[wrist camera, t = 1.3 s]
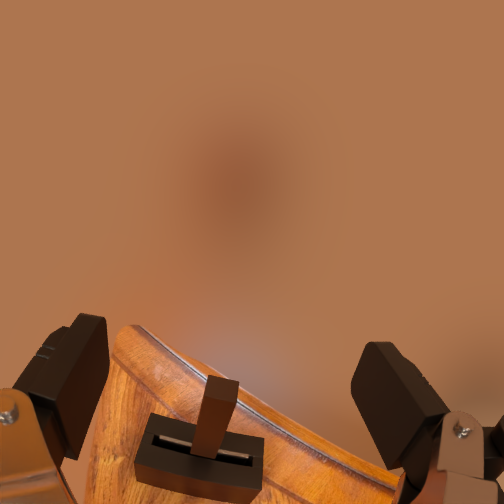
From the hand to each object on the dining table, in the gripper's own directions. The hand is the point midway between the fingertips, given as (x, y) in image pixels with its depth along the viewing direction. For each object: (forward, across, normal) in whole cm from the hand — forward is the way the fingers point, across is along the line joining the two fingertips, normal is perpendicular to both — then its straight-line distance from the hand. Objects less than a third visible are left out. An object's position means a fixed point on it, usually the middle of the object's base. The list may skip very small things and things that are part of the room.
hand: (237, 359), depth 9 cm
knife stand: (+11, 0, +24) cm, 26 cm away
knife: (+11, 0, +24) cm, 26 cm away
